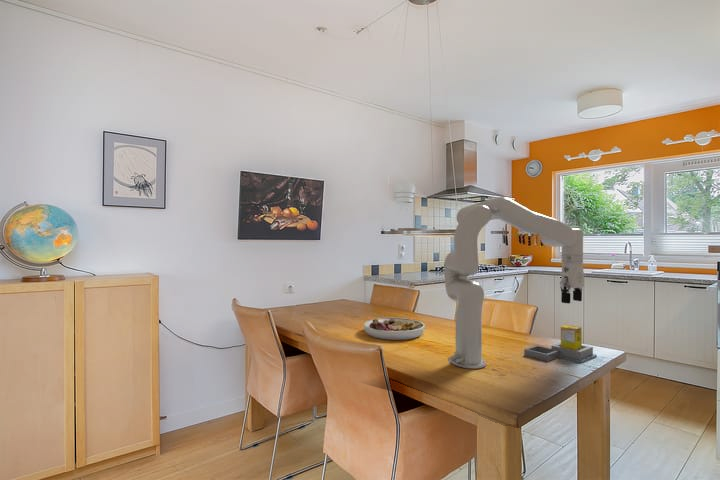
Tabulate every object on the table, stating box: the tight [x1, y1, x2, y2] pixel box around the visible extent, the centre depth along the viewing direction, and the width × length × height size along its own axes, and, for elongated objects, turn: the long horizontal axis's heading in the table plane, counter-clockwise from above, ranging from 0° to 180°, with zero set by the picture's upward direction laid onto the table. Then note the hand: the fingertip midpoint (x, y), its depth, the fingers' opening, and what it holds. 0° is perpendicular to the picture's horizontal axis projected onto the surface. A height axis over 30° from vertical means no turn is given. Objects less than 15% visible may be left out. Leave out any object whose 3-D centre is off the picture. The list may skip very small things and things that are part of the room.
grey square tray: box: [523, 344, 560, 362], centre depth 153 cm, size 10×10×2 cm
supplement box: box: [560, 324, 583, 350], centre depth 153 cm, size 6×6×11 cm
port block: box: [550, 342, 598, 364], centre depth 153 cm, size 13×13×4 cm
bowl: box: [363, 317, 426, 341], centre depth 190 cm, size 30×30×8 cm
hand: (571, 301), depth 153 cm, fingers open, 9 cm apart
